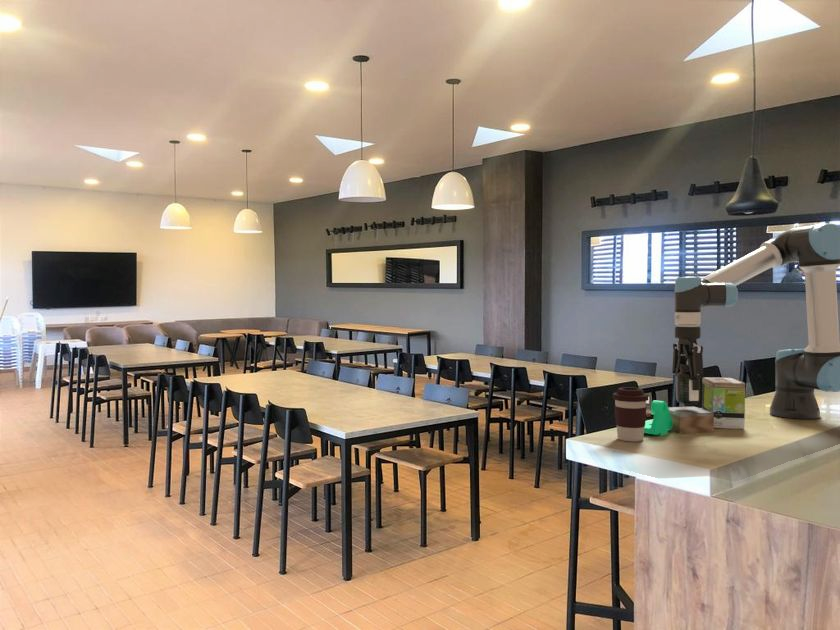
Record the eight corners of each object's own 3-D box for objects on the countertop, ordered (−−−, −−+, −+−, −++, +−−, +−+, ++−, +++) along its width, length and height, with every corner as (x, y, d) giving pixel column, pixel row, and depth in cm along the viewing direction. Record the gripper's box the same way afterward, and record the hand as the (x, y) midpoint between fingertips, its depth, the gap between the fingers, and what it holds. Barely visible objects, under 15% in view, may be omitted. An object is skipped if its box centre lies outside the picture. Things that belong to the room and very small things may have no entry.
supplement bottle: (682, 399, 208) (682, 362, 208) (703, 401, 203) (703, 363, 203) (672, 401, 204) (672, 363, 204) (693, 404, 199) (693, 365, 198)
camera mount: (649, 428, 206) (649, 396, 206) (673, 431, 201) (673, 398, 200) (631, 434, 198) (631, 401, 197) (655, 438, 192) (655, 403, 192)
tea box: (745, 429, 202) (746, 382, 202) (711, 428, 204) (711, 382, 204) (732, 420, 217) (732, 376, 217) (700, 419, 219) (700, 376, 219)
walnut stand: (694, 424, 210) (694, 406, 210) (713, 431, 199) (713, 412, 199) (662, 426, 209) (662, 407, 208) (680, 433, 198) (680, 413, 198)
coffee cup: (608, 440, 188) (608, 389, 188) (617, 434, 197) (617, 385, 196) (644, 444, 183) (643, 392, 183) (651, 437, 192) (651, 387, 191)
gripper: (660, 324, 212) (660, 394, 213) (693, 327, 193) (693, 404, 193) (682, 324, 213) (682, 393, 214) (716, 327, 194) (716, 403, 194)
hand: (687, 398), depth 204 cm, fingers closed on supplement bottle, 7 cm apart
